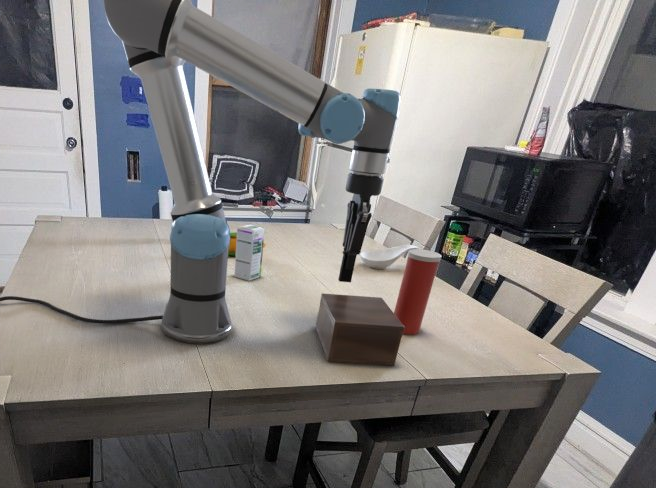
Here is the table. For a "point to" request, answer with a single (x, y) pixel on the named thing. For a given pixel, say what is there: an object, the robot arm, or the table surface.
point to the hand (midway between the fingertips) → (344, 280)
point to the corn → (234, 245)
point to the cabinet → (358, 330)
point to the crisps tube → (416, 288)
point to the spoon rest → (384, 256)
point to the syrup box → (249, 252)
